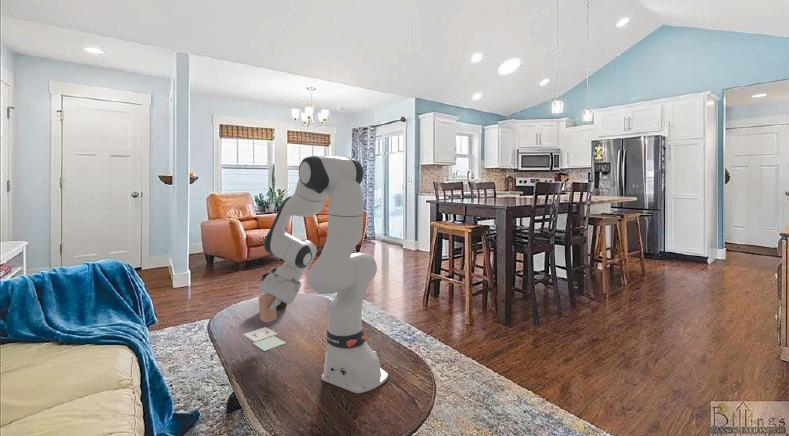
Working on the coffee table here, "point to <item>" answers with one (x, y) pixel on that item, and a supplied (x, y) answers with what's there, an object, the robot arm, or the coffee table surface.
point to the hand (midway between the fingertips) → (266, 307)
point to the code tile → (260, 334)
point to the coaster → (269, 343)
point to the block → (264, 311)
